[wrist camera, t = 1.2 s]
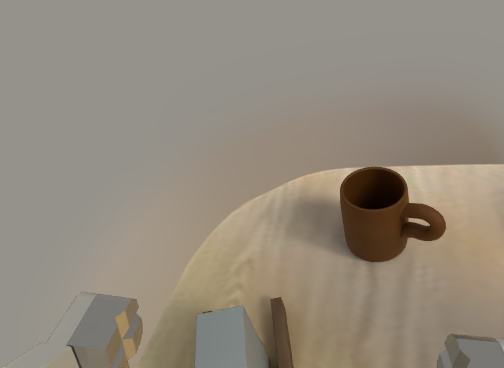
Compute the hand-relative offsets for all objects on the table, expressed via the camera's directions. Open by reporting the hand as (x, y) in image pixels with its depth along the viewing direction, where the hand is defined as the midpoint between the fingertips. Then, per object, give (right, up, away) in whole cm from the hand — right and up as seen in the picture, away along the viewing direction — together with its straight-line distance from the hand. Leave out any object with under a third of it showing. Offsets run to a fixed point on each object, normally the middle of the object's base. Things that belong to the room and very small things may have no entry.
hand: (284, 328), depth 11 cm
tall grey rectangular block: (-1, -18, +30) cm, 35 cm away
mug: (+17, -4, +39) cm, 43 cm away
